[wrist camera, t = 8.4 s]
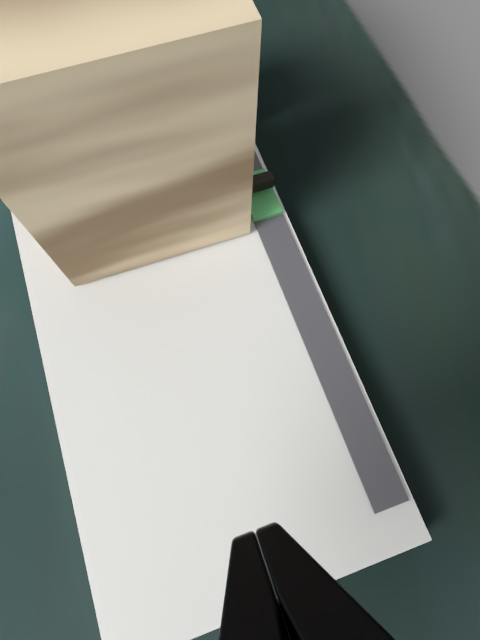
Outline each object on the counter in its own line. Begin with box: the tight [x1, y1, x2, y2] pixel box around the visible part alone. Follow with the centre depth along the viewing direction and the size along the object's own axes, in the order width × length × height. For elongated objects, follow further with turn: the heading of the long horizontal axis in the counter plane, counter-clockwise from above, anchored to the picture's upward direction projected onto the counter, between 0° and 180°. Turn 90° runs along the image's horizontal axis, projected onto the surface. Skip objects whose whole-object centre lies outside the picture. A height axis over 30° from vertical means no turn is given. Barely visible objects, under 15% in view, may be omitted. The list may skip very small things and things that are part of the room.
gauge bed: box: [11, 144, 432, 640], centre depth 20 cm, size 23×12×1 cm, turn 19°
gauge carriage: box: [0, 0, 275, 286], centre depth 16 cm, size 4×10×10 cm, turn 109°
